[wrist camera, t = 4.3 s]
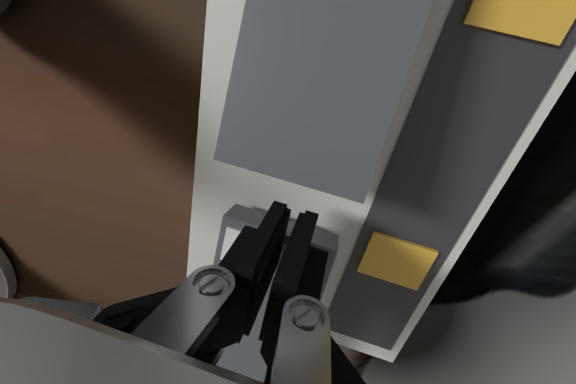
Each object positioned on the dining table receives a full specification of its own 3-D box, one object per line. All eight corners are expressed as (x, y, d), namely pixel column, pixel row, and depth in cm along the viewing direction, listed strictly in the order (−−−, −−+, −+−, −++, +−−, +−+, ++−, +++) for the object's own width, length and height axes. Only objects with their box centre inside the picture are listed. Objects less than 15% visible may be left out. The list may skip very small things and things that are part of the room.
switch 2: (294, 365, 17) (288, 394, 15) (207, 334, 17) (193, 359, 15) (338, 235, 14) (337, 252, 12) (235, 203, 15) (221, 216, 13)
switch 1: (360, 192, 11) (363, 205, 9) (230, 154, 12) (211, 160, 10) (445, -60, 9) (469, -103, 7) (283, -94, 10) (271, -141, 8)
